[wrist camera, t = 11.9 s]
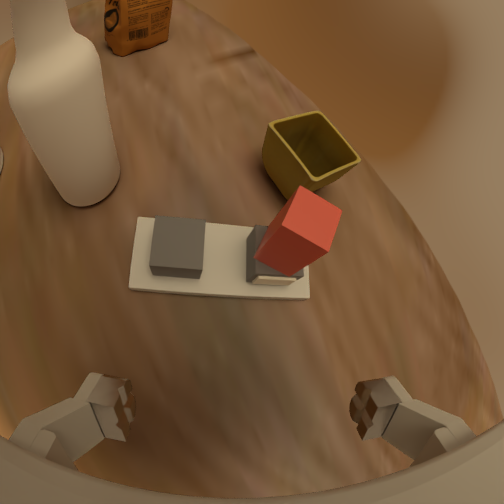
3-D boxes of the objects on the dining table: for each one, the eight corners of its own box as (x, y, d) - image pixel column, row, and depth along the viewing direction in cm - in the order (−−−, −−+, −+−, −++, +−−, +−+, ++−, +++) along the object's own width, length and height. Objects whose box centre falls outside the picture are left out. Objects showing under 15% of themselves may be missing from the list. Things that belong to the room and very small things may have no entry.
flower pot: (295, 148, 40) (320, 108, 32) (329, 194, 39) (363, 160, 31) (247, 166, 37) (266, 122, 29) (284, 218, 36) (314, 182, 28)
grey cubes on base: (130, 289, 28) (121, 278, 23) (139, 222, 31) (133, 200, 26) (304, 300, 33) (326, 291, 28) (301, 237, 36) (321, 220, 31)
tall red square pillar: (289, 276, 28) (328, 251, 20) (253, 257, 27) (281, 225, 20) (302, 243, 29) (342, 210, 22) (269, 224, 29) (299, 185, 21)
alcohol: (109, 143, 33) (89, -69, 6) (130, 189, 32) (108, -71, 4) (54, 171, 30) (-15, -26, 2) (69, 221, 29) (-42, -6, 1)
